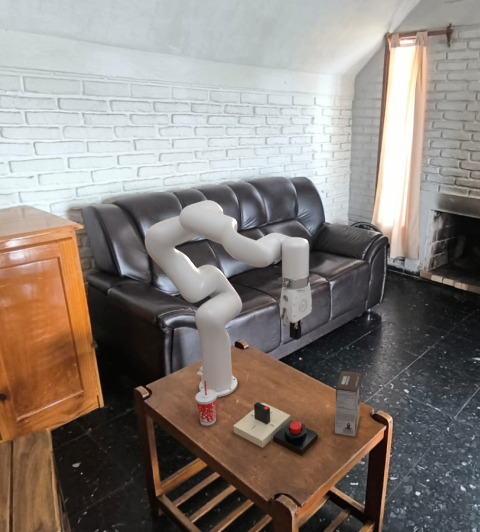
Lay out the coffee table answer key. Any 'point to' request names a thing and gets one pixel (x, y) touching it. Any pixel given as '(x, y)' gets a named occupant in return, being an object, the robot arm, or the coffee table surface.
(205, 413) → the beverage cup
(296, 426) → the power button
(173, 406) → the coffee table surface
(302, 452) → the power box
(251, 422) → the panel
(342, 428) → the coffee box
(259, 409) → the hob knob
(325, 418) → the coffee table surface
